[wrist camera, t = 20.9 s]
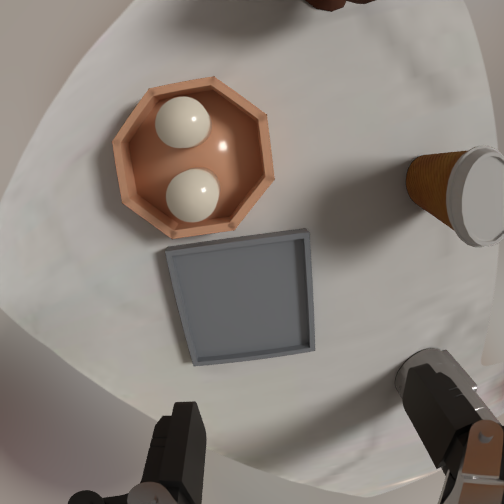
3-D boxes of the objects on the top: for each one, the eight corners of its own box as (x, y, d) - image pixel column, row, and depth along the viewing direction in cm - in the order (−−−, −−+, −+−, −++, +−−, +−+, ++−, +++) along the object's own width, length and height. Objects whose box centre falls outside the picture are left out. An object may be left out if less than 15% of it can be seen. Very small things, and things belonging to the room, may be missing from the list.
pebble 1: (209, 101, 29) (204, 92, 24) (215, 143, 30) (210, 143, 25) (165, 109, 29) (152, 102, 24) (171, 151, 30) (158, 152, 25)
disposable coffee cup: (392, 221, 35) (451, 254, 23) (393, 138, 31) (459, 140, 20) (453, 219, 35) (516, 248, 24) (456, 144, 32) (525, 152, 20)
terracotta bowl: (258, 78, 29) (261, 70, 26) (275, 216, 34) (280, 224, 30) (118, 103, 29) (106, 99, 26) (140, 236, 34) (130, 245, 30)
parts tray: (306, 228, 34) (309, 232, 33) (312, 343, 39) (315, 350, 38) (167, 246, 34) (164, 251, 33) (194, 358, 39) (193, 366, 37)
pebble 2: (217, 163, 31) (213, 167, 26) (223, 206, 32) (221, 218, 27) (174, 170, 31) (162, 175, 26) (181, 212, 32) (170, 225, 27)
